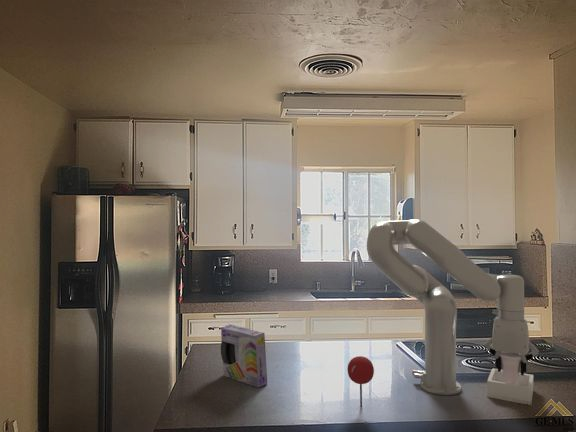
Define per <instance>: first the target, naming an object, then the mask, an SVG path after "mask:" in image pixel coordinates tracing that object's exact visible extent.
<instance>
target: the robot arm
mask: <svg viewBox="0 0 576 432" xmlns="http://www.w3.org/2000/svg"><path fill="white" fill-rule="evenodd" d="M398 245H403V246H404V245H411V246H412V247H414V248H415V249H416V250H418V251H419V252H420V253H421V254H422V255H424V256H425V257H426V258H428V259H429V260H430V261H431V262H432V263H434V264H435V265H436V266H437V267H439V268H440V269H441V270H442V271H443V272H445V273H446V274H447V275H449V276H450V277H452V278H453V279H454V280H455V281H457V282H458V283H459V284H460V285H461V286H462V287H464V288H465V289H466V290H468V292H470V293H471V294H473V295H474V296H475V297H476V298H477V299H478V300H479V301H480V300H481V301H483V302H487V303H490V302H494V301H496V302H497V306H496V309H494V308H493V309H492V312H491V313H492V314H493V315H496V317H494V319H493V326H492V337H491V338H489V339H488V340H487V341H486V342H485V343H484V344H483V346H484V348H486V349H487V350H488V351H489V353H490V354H491V355H492V356H493V357H494V359H495V369H498V372H500V371H501V370H502V362H501V357H500V353H501V352H508V353H515V354H520V356H521V358H522V359H521V364H520V373H521V375H524V374H525V373H527V362H529V361H530V360H531V359H533V358H534V357H536V356H537V355H538V354H539V349H538V348H537V347H536V346H535V344H533V343H532V342H531V341H530V335H529V334H530V333H529V325H528V321H527V319H525V279H524V278H523V276H521V275H518V274H493V273H487V272H486V271H485V270H484V269H482V268H481V267H480V266H478V265H477V264H476V263H475V262H474V261H472V260H471V259H470V258H469V257H468V256H467V255H466V254H465V252H463V251H462V250H461V249H460V248H459V247H458V246H456V245H455V244H454V243H452V241H450V240H449V239H447V237H445V236H444V235H442V234H441V233H440V232H439V231H437V230H436V229H435V228H433V227H432V226H431V225H429V224H428V223H427V222H426V220H423V219H408V220H406V219H405V220H386V221H385V220H383V221H378V222H377V223H375V224H374V225H372V227H371V228H370V230H369V232H368V235H367V238H366V251H367V255H368V257H369V259H370V261H371V262H372V264H373V265H374V266H375V267H376V268H377V269H378V270H379V271H380V272H381V273H382V274H383V275H385V276H386V277H387V278H388V280H390V281H391V282H392V283H393V284H395V286H397V287H398V288H399V289H400V290H401V291H402V292H403V293H404V294H405V295H407V296H409V297H410V298H411V297H412V298H415V299H416V300H417V301H419V302H420V303H421V304H422V305H424V370H419V369H412V371H411V374H412V376H413V378H414V379H421V380H420V382H419V384H420V387H421V389H422V390H424V391H426V392H428V393H431V394H434V395H440V396H452V395H454V396H455V395H457V394H460V393H461V391H462V385H461V384H460V383H459V382H458V381H457V336H456V335H457V318H458V317H457V316H458V309H457V302H456V300H455V298H454V295H453V294H452V293H451V291H450V290H449V289H448V288H447V287H446V286H444V284H442V283H441V282H440V281H439V280H437V279H436V278H435V277H434V276H433V275H431V274H430V273H429V272H428V271H427V270H425V268H423V267H421V266H419V265H416V264H412V263H411V262H410V261H409V260H407V259H406V258H405V257H404V256H403V255H402V254H401V253H400V252H398V251H397V250H396V248H395V247H394V246H398ZM530 350H531V352H529V351H530Z"/></svg>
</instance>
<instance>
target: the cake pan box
mask: <svg viewBox="0 0 576 432" xmlns="http://www.w3.org/2000/svg"><path fill="white" fill-rule="evenodd" d="M220 335H221V336H220V337H221V343H220V355H221V360H222V371H223V376H224V377H228V378H230V379H232V380H235V381H239V382H241V383H244V384H248V385H250V386H252V387H256V388H261V387H264V386H266V385H268V373H267V370H268V369H267V355H266V354H267V352H266V337H265V335H266V333H265V332H262V331H258V330H254V329H251V328H247V327H242V326H237V325H233V324H227V325H225V326H222V327H220Z"/></svg>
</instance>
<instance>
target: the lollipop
mask: <svg viewBox="0 0 576 432" xmlns="http://www.w3.org/2000/svg"><path fill="white" fill-rule="evenodd" d="M347 374H348V375H347V376H348V378H349V379H350V380H351V381H352V382H353V383H355V384H356V385H357V384H358V385H359V396H360V397H359V402H360V405H359V408H360V407H362V408H363V389H362V388H363V386H362V385H366V384H368V383H369V382H371V381H372V379H373V377H374V376H375V375H374V374H375V368H374V364H373V363H372V361H371V360H370V359H369V358H368V357H366V356H363V355H362V356H358V355H357V356H355V357H353V358H351V359H350V360H349V362H348V364H347Z"/></svg>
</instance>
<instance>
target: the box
mask: <svg viewBox="0 0 576 432" xmlns="http://www.w3.org/2000/svg"><path fill="white" fill-rule="evenodd" d="M534 377H535V376H534V374H528V373H524V375H521V372H519V378H518V385H515V384H510V383H504V377H503V370H502V369H501V371H500V372H498V368H492V369H491V370H490V373H489V375H488V378H487V382H486V384H487V385H486V387H487V389H486V394H487V395H486V397H487V398H493V399H496V400H502V401H507V402H513V403H519V404H523V405H527V404H528V405H529V406H532V403H533V397H534V395H533V394H534ZM528 405H527V406H528Z"/></svg>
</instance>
